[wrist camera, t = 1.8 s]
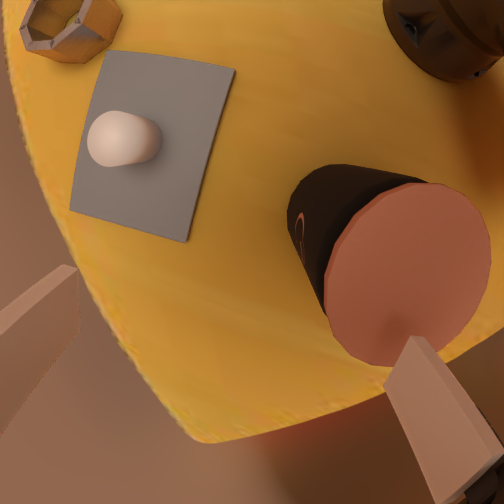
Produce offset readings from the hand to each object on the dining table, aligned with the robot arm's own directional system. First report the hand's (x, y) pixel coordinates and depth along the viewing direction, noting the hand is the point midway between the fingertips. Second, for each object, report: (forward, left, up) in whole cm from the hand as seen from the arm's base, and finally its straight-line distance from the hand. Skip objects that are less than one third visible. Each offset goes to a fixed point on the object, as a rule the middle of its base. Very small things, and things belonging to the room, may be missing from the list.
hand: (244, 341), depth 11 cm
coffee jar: (-3, +9, -22) cm, 24 cm away
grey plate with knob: (-5, -12, -22) cm, 25 cm away
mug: (-17, -24, -22) cm, 37 cm away
